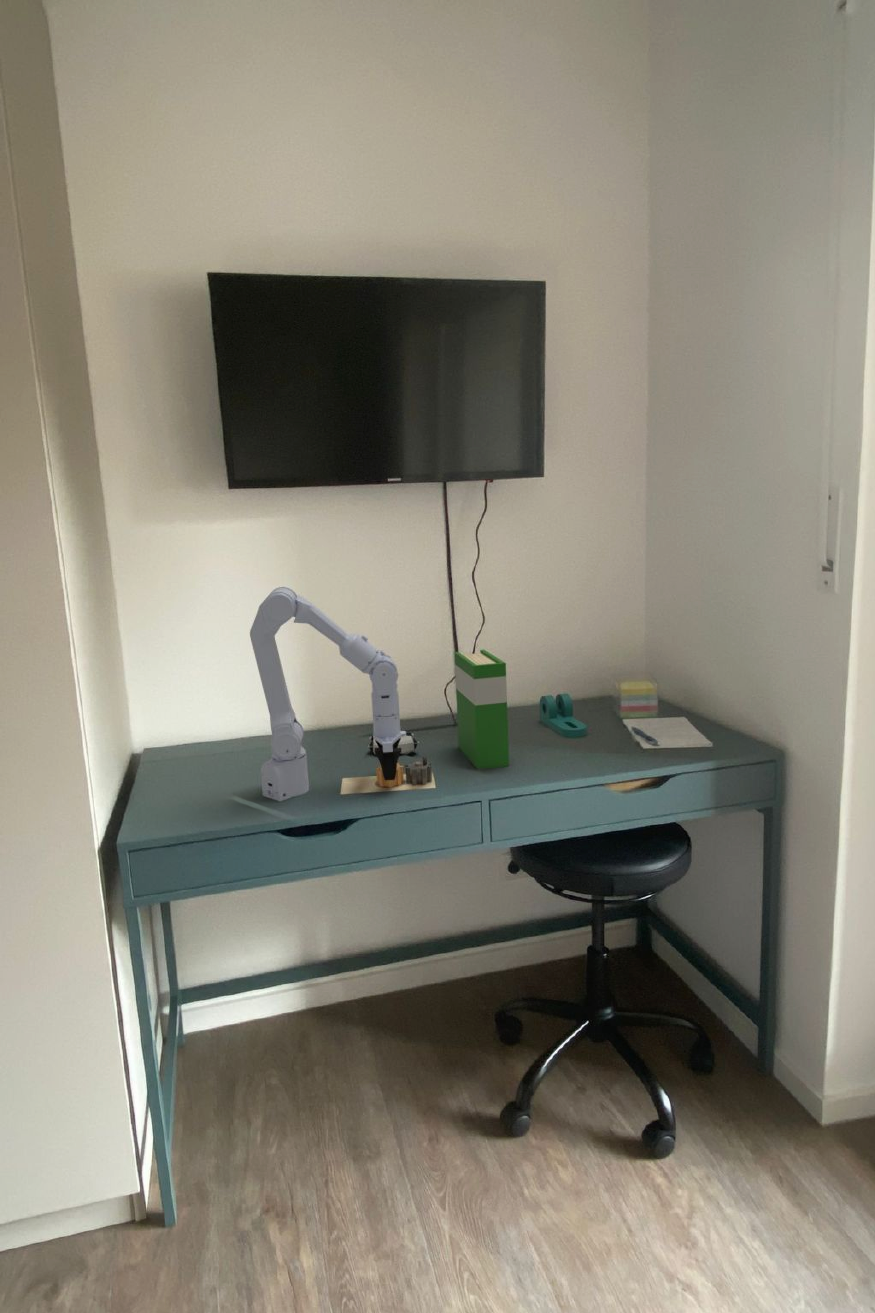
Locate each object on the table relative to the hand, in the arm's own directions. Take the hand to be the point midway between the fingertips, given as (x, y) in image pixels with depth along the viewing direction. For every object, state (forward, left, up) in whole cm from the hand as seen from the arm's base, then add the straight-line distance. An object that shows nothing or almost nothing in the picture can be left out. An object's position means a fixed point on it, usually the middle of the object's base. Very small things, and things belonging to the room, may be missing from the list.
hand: (389, 774), depth 176 cm
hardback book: (+28, -4, -3) cm, 28 cm away
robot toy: (+19, +17, -3) cm, 26 cm away
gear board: (0, 0, -3) cm, 3 cm away
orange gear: (0, 0, -2) cm, 2 cm away
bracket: (+58, -7, -3) cm, 58 cm away
